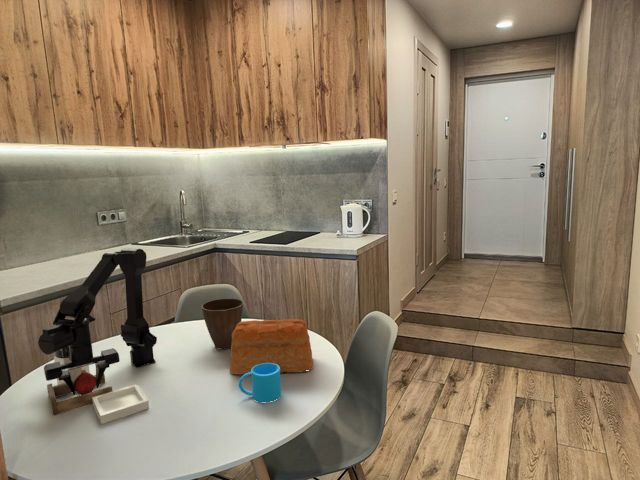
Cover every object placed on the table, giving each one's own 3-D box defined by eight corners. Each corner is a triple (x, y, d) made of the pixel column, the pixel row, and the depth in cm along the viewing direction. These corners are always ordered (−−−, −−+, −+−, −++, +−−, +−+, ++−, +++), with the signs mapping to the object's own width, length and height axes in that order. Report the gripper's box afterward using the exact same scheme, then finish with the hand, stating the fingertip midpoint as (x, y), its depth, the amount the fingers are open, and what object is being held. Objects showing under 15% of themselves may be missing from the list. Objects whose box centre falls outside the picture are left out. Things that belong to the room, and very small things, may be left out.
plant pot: (196, 348, 160) (192, 306, 157) (226, 335, 172) (223, 296, 169) (224, 357, 151) (221, 313, 149) (253, 342, 163) (251, 301, 161)
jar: (58, 390, 131) (53, 353, 129) (57, 380, 138) (52, 344, 136) (91, 382, 136) (87, 345, 134) (88, 372, 142) (84, 337, 141)
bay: (104, 381, 136) (103, 369, 135) (113, 397, 126) (111, 384, 125) (48, 397, 127) (46, 384, 126) (53, 415, 117) (51, 402, 116)
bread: (235, 358, 150) (232, 316, 148) (312, 355, 151) (310, 313, 149) (227, 377, 137) (224, 331, 134) (312, 373, 137) (311, 328, 135)
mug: (281, 388, 129) (280, 362, 127) (280, 402, 121) (279, 375, 119) (240, 390, 128) (239, 364, 127) (237, 405, 120) (235, 377, 119)
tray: (137, 391, 129) (136, 384, 129) (149, 408, 120) (148, 400, 119) (92, 405, 122) (92, 397, 122) (101, 424, 113) (100, 415, 112)
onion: (100, 395, 127) (97, 369, 126) (79, 403, 123) (76, 376, 122) (93, 388, 131) (90, 364, 130) (72, 396, 127) (69, 370, 126)
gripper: (109, 325, 136) (114, 371, 139) (39, 340, 125) (46, 390, 128) (117, 335, 128) (122, 384, 130) (42, 352, 117) (50, 406, 119)
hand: (86, 390), depth 127 cm, fingers closed on onion, 6 cm apart
